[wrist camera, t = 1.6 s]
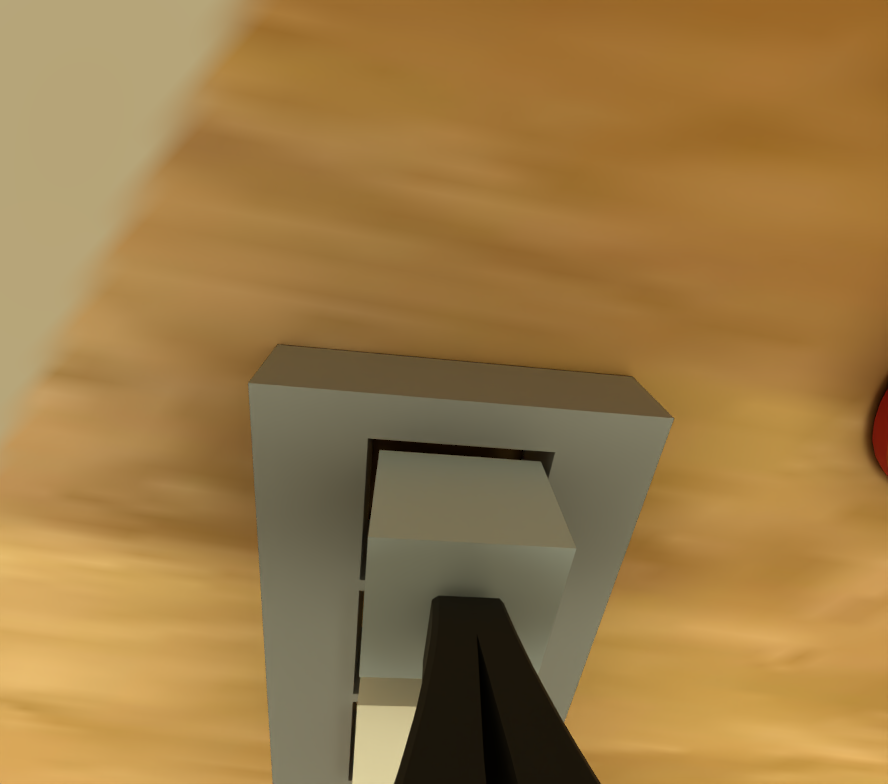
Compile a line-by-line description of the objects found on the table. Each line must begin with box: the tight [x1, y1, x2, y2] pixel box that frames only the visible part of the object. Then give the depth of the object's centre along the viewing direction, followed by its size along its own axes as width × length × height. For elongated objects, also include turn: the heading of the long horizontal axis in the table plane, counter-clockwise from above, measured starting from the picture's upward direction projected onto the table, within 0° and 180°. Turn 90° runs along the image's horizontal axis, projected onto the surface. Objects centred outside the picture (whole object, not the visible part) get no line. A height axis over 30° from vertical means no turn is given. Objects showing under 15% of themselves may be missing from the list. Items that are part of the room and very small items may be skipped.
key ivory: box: [352, 677, 422, 784], centre depth 13 cm, size 4×4×3 cm
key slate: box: [359, 450, 576, 679], centre depth 11 cm, size 4×4×3 cm
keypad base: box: [248, 345, 674, 784], centre depth 16 cm, size 17×10×2 cm, turn 173°
